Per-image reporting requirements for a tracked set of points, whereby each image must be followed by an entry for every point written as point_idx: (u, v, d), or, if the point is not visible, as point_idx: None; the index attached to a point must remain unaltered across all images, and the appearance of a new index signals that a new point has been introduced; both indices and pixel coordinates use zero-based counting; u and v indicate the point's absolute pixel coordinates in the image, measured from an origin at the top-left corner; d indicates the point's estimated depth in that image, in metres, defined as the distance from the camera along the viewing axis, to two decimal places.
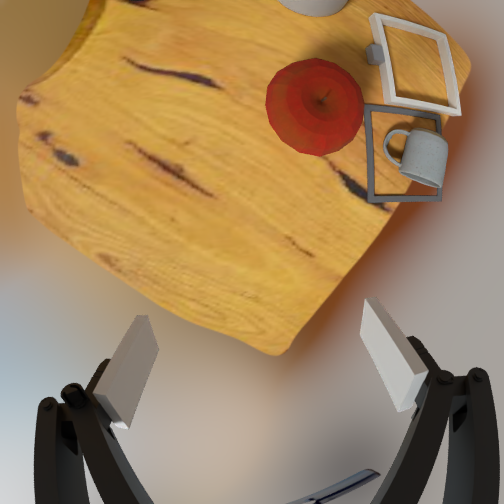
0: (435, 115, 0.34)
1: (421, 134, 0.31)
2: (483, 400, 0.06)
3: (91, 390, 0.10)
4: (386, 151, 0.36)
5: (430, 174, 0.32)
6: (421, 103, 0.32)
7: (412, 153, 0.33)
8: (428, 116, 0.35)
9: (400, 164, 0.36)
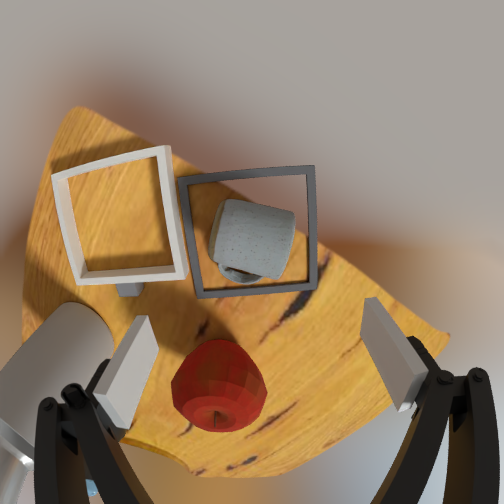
0: (180, 187, 0.31)
1: (219, 263, 0.29)
2: (483, 400, 0.06)
3: (91, 390, 0.10)
4: (251, 282, 0.34)
5: (277, 264, 0.27)
6: (171, 231, 0.30)
7: None
8: (186, 201, 0.31)
9: None
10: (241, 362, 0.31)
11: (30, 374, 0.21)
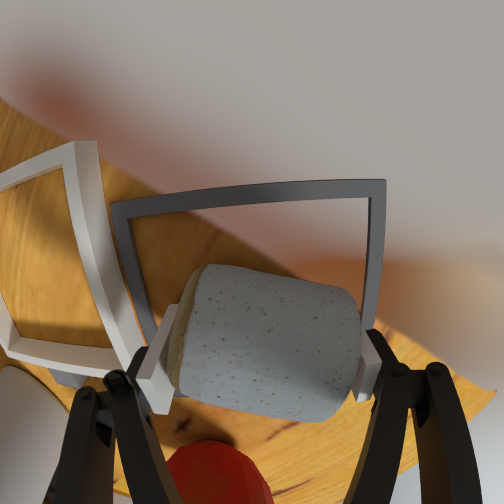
0: (116, 223, 0.15)
1: None
2: (446, 394, 0.07)
3: (131, 377, 0.11)
4: None
5: (315, 416, 0.10)
6: (103, 310, 0.14)
7: None
8: (128, 250, 0.15)
9: None
10: (240, 492, 0.15)
11: None
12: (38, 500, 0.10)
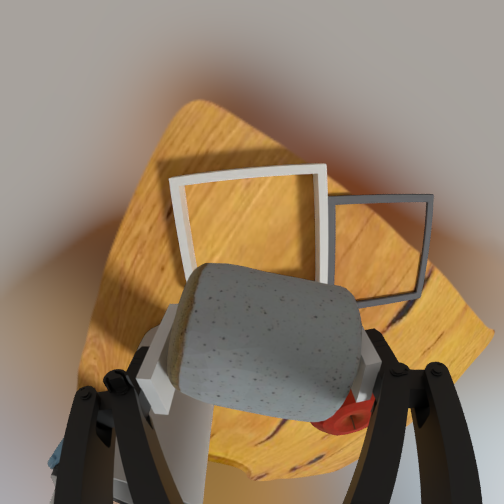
0: (329, 206, 0.31)
1: None
2: (445, 394, 0.07)
3: (131, 377, 0.11)
4: None
5: (316, 416, 0.10)
6: (323, 250, 0.31)
7: None
8: (332, 220, 0.32)
9: None
10: None
11: (163, 422, 0.22)
12: None
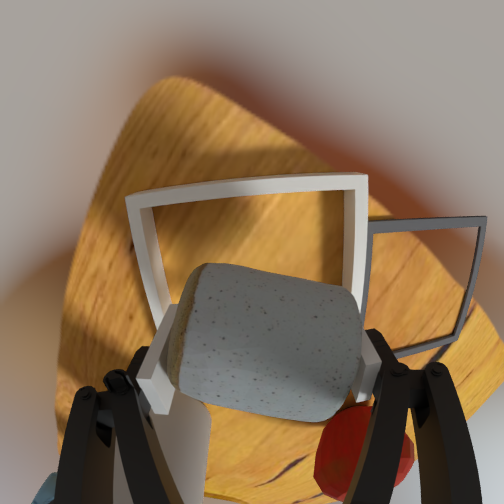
0: None
1: None
2: (445, 394, 0.07)
3: (131, 377, 0.11)
4: None
5: (316, 416, 0.10)
6: None
7: None
8: (368, 256, 0.21)
9: None
10: None
11: None
12: None
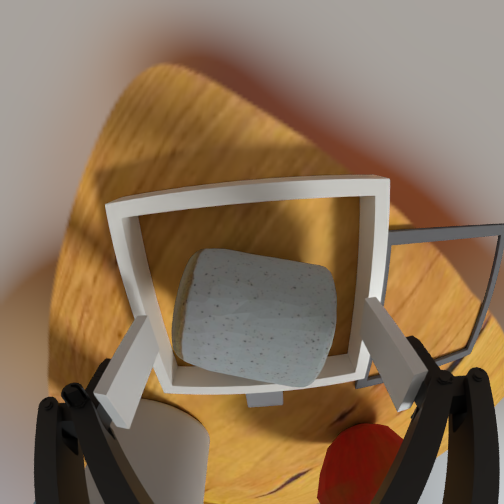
0: None
1: None
2: (483, 400, 0.06)
3: (92, 390, 0.10)
4: None
5: (301, 378, 0.13)
6: None
7: None
8: (385, 270, 0.18)
9: None
10: None
11: None
12: None
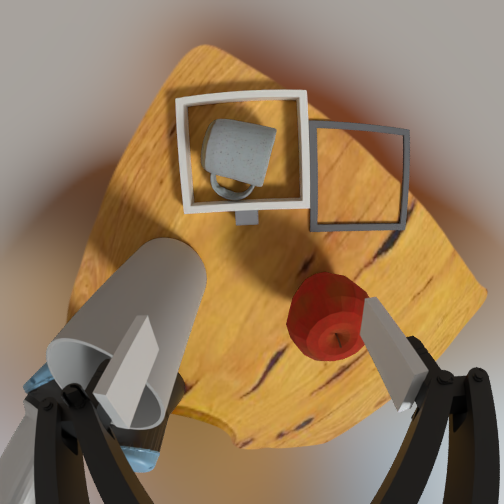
0: (311, 128, 0.34)
1: (210, 169, 0.31)
2: (483, 400, 0.06)
3: (91, 390, 0.10)
4: (240, 198, 0.36)
5: (260, 164, 0.29)
6: (305, 162, 0.33)
7: (237, 179, 0.32)
8: (314, 141, 0.34)
9: (253, 184, 0.34)
10: (357, 285, 0.34)
11: (140, 300, 0.25)
12: (187, 340, 0.30)
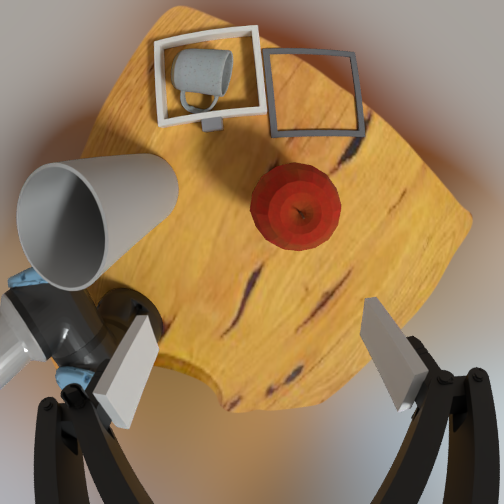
0: (264, 54, 0.35)
1: (178, 83, 0.33)
2: (483, 400, 0.06)
3: (91, 390, 0.10)
4: (205, 111, 0.38)
5: (216, 71, 0.31)
6: (259, 76, 0.35)
7: (200, 89, 0.34)
8: (268, 63, 0.36)
9: (215, 96, 0.36)
10: None
11: None
12: (150, 215, 0.31)
